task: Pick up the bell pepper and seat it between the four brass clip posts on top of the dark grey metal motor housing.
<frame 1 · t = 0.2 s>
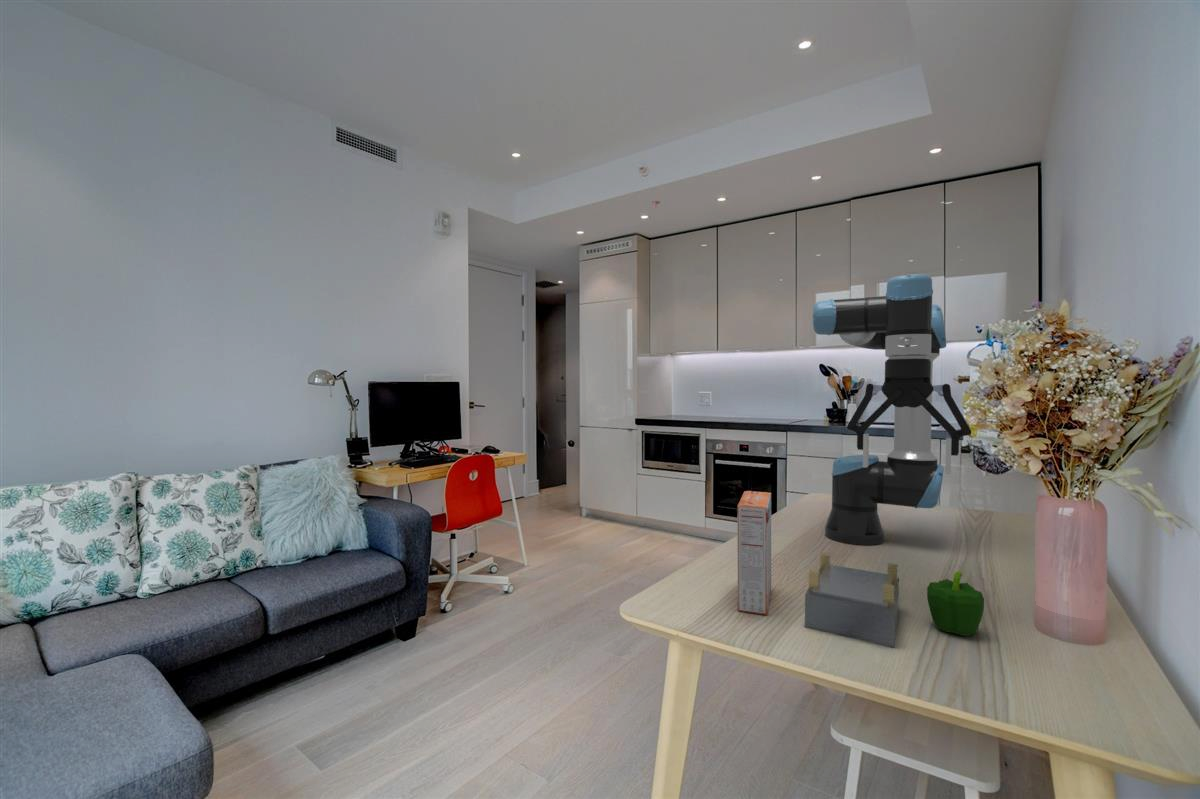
hand: (905, 469, 100), 27 cm above the table, fingers open, 13 cm apart
bell pepper: (955, 631, 94), on the table
cracker box: (754, 600, 107), on the table
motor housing: (853, 617, 99), on the table
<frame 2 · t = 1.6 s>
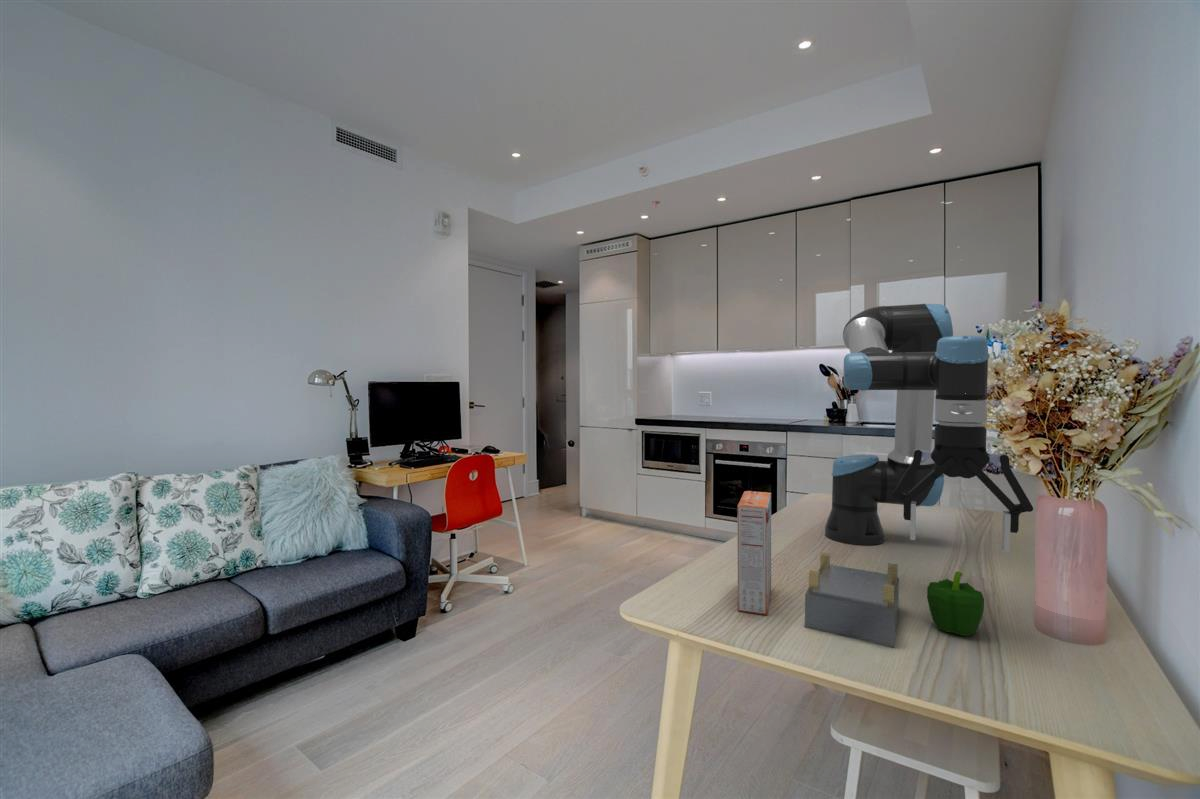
hand: (957, 544, 93), 15 cm above the table, fingers open, 13 cm apart
nothing on the table moved.
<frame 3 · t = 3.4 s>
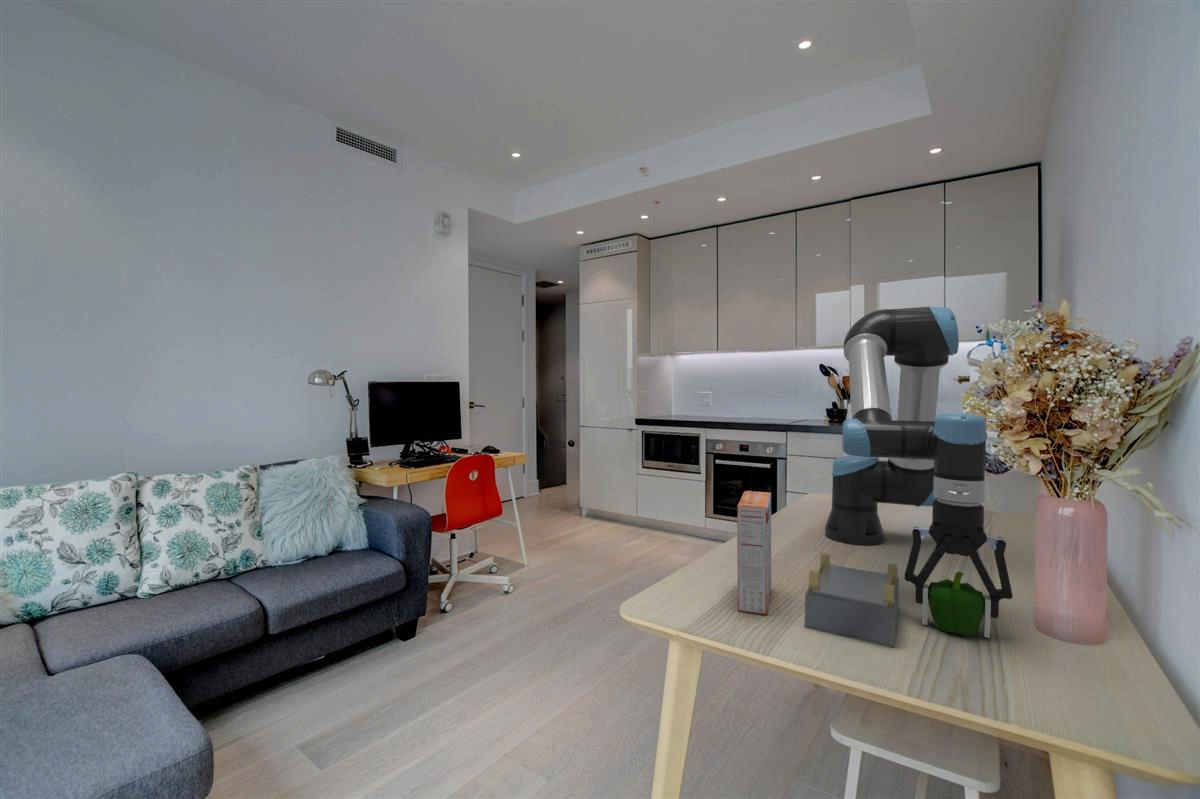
hand: (954, 627, 94), 0 cm above the table, fingers closed on bell pepper, 8 cm apart
bell pepper: (955, 631, 94), on the table, touching gripper
everything else where it was.
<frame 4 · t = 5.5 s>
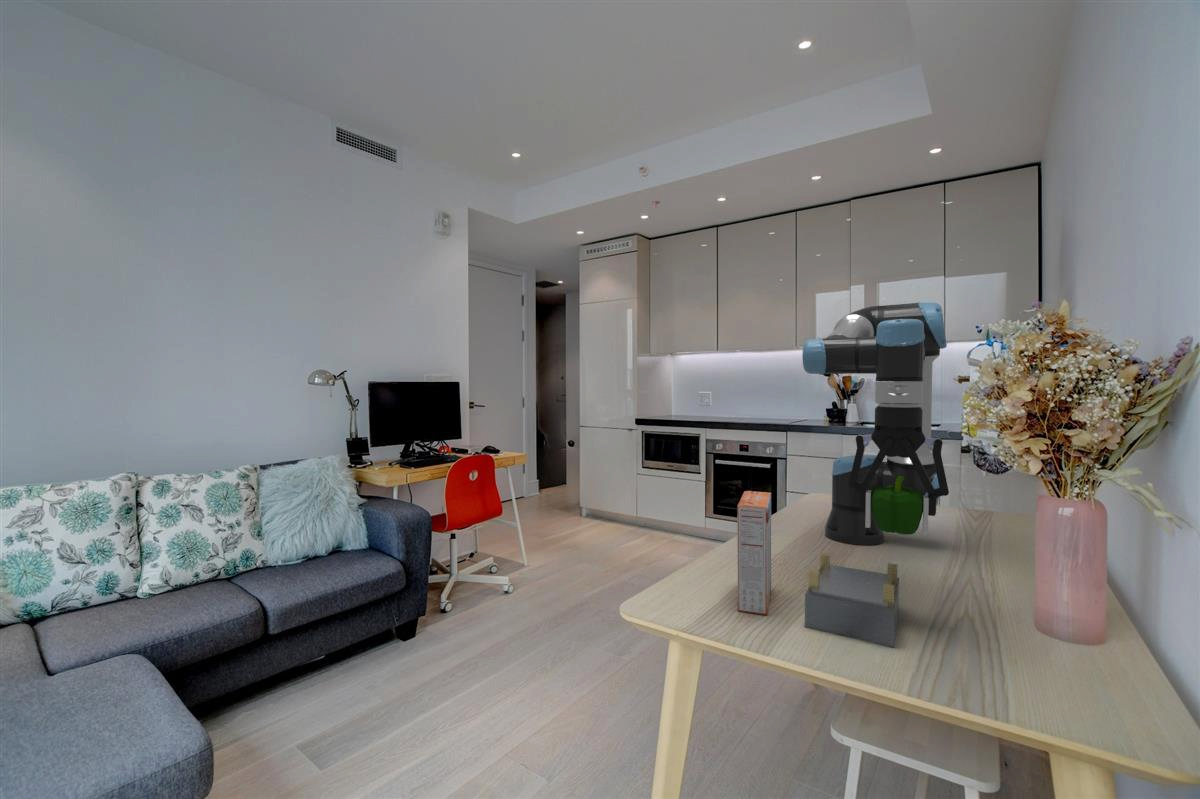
hand: (895, 529, 96), 17 cm above the table, fingers closed on bell pepper, 8 cm apart
bell pepper: (897, 532, 96), point 17 cm above the table, touching gripper
everything else where it was.
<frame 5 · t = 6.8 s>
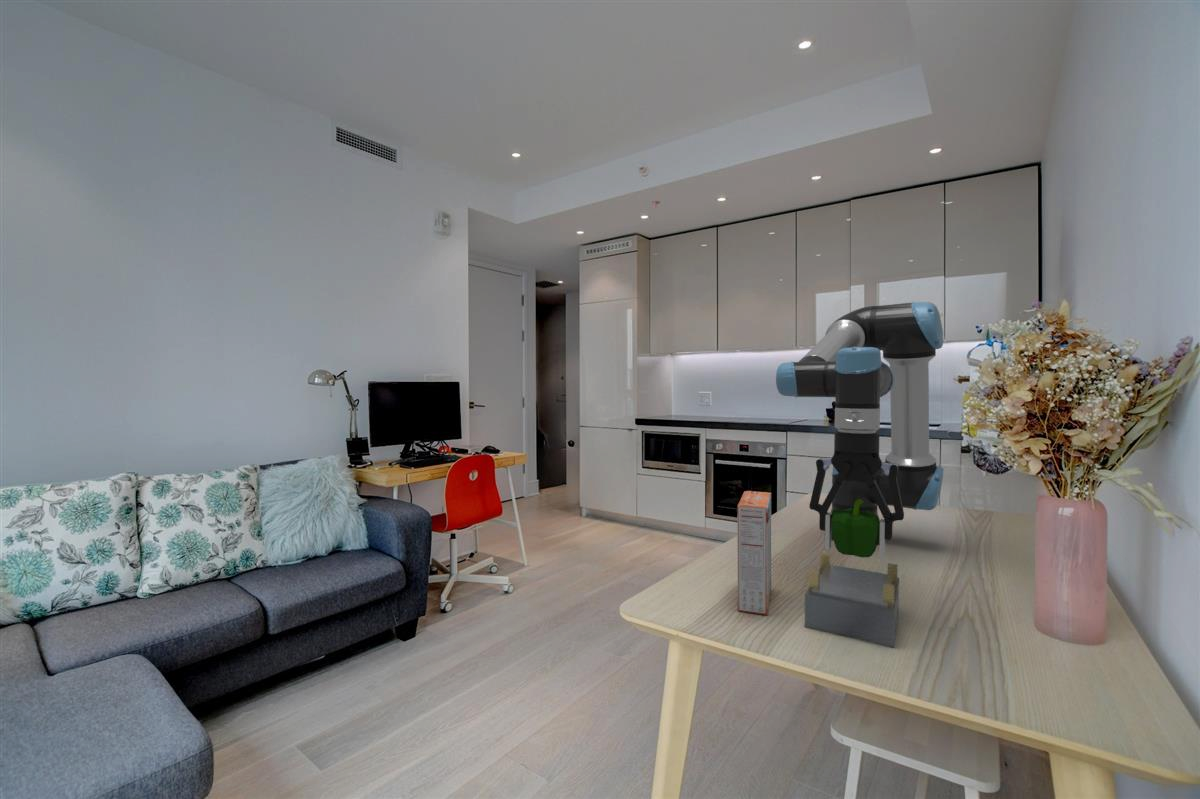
hand: (854, 551, 98), 12 cm above the table, fingers closed on bell pepper, 8 cm apart
bell pepper: (855, 555, 98), point 12 cm above the table, touching gripper
everything else where it was.
when the fingers open (9 cm above the table, at t = 7.8 s): bell pepper drops 2 cm, resting on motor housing.
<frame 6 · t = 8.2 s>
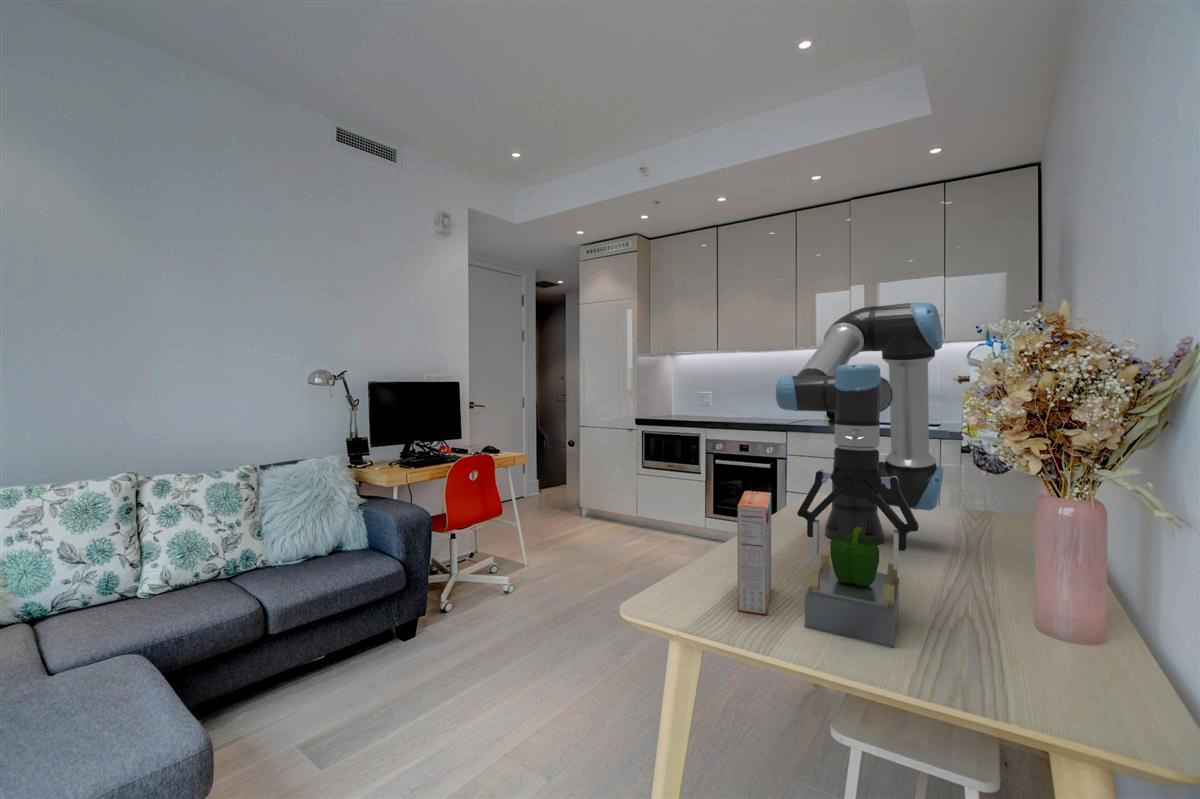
hand: (854, 560, 98), 11 cm above the table, fingers open, 13 cm apart
bell pepper: (855, 583, 98), point 6 cm above the table, touching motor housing
everything else where it was.
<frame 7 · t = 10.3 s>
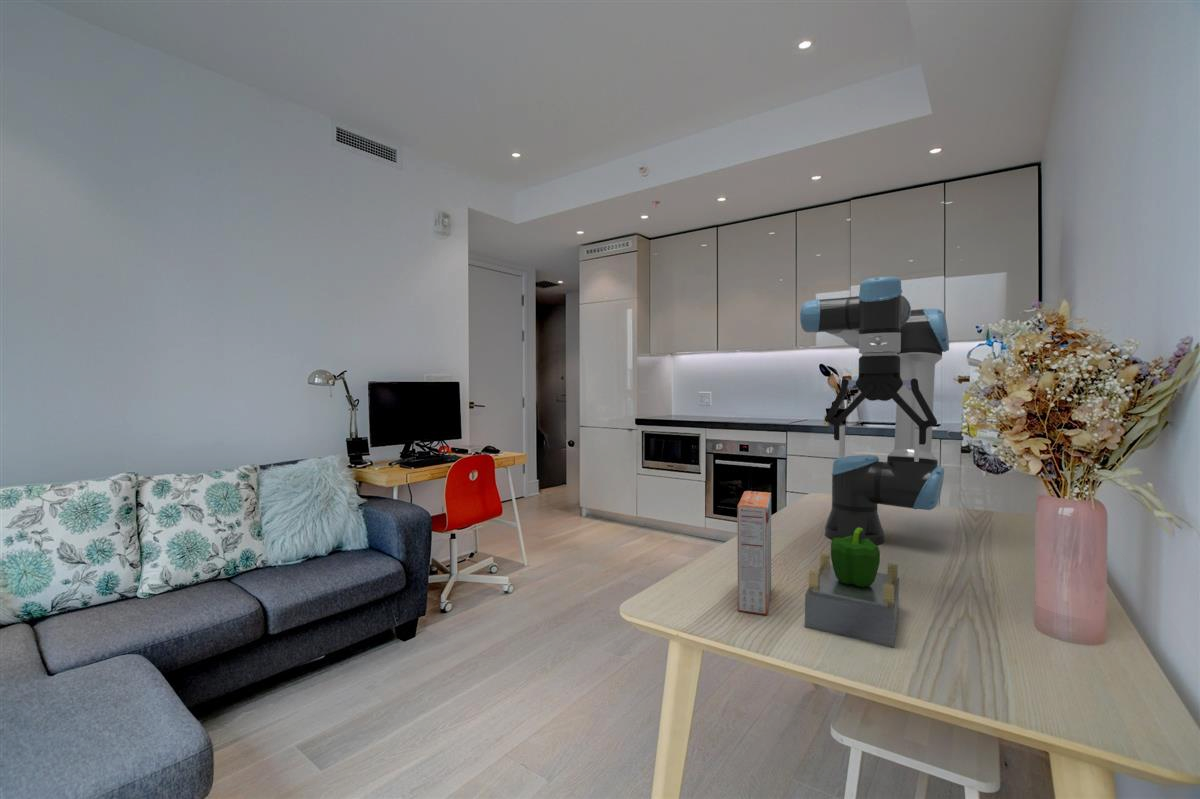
hand: (878, 458, 108), 28 cm above the table, fingers open, 13 cm apart
nothing on the table moved.
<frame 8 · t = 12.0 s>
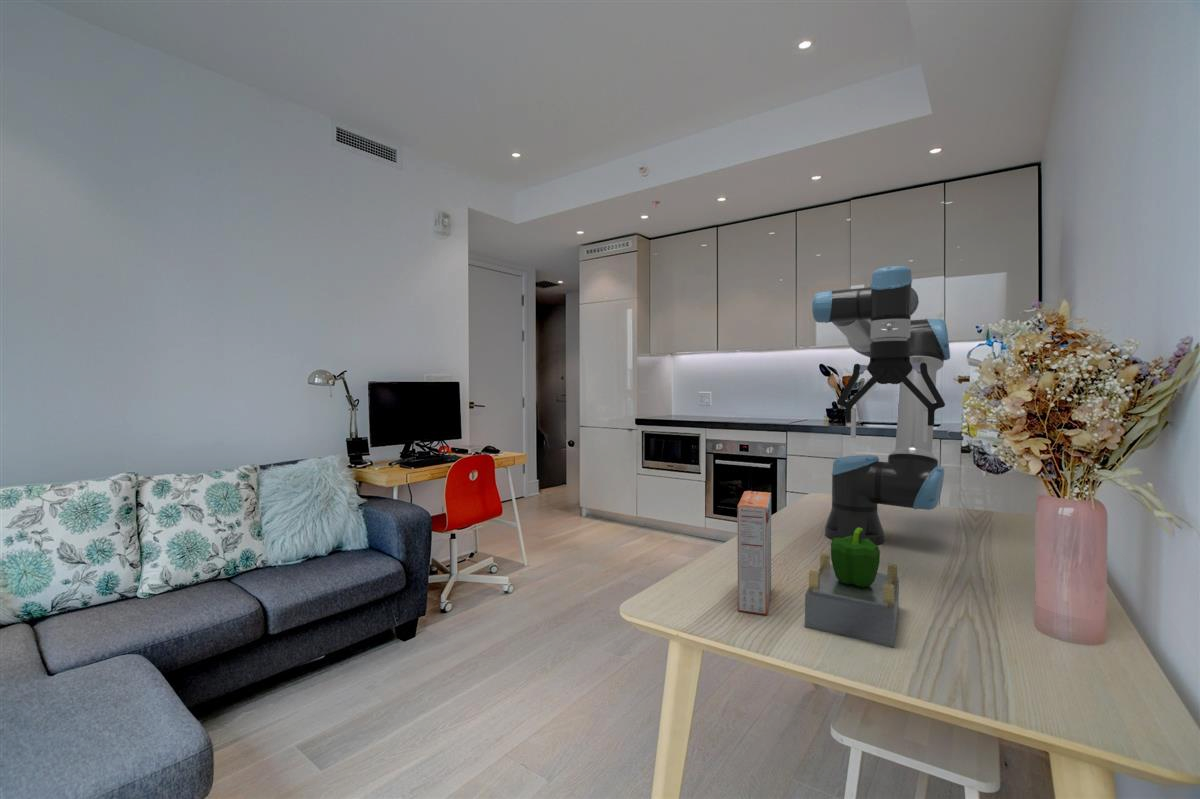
hand: (888, 439, 113), 32 cm above the table, fingers open, 13 cm apart
nothing on the table moved.
at the end: bell pepper inside the target area on the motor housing (0.2 cm from its centre), point 6.4 cm above the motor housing's base; bell pepper touching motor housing; the gripper is holding nothing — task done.
